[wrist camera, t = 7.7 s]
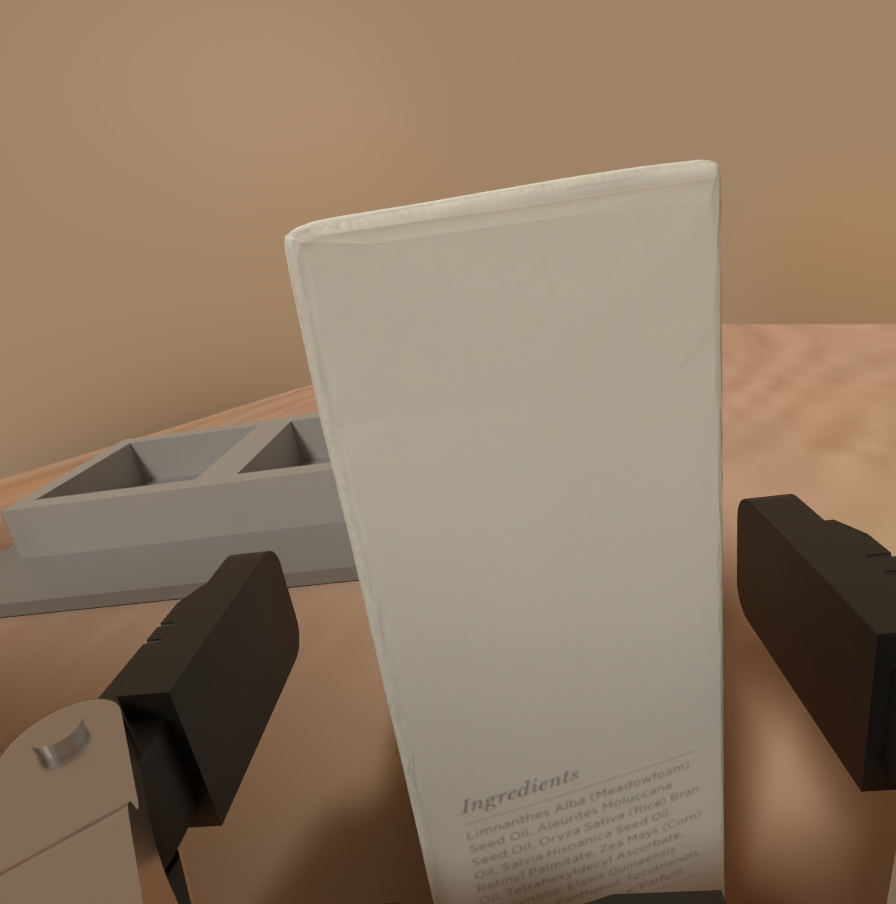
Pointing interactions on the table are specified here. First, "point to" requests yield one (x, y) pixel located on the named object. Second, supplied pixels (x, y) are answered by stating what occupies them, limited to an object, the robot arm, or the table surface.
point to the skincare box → (538, 519)
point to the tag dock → (177, 518)
